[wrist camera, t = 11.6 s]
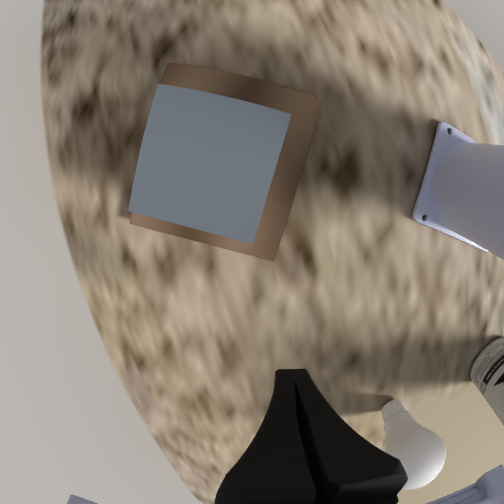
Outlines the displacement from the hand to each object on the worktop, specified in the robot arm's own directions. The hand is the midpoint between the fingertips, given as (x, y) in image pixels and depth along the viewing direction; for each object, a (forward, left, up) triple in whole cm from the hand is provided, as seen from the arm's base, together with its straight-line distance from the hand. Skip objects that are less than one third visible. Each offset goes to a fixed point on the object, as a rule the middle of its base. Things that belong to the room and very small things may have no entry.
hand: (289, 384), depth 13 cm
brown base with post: (+6, -8, -10) cm, 14 cm away
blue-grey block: (+6, -8, -9) cm, 13 cm away
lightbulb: (-16, +10, -10) cm, 21 cm away
